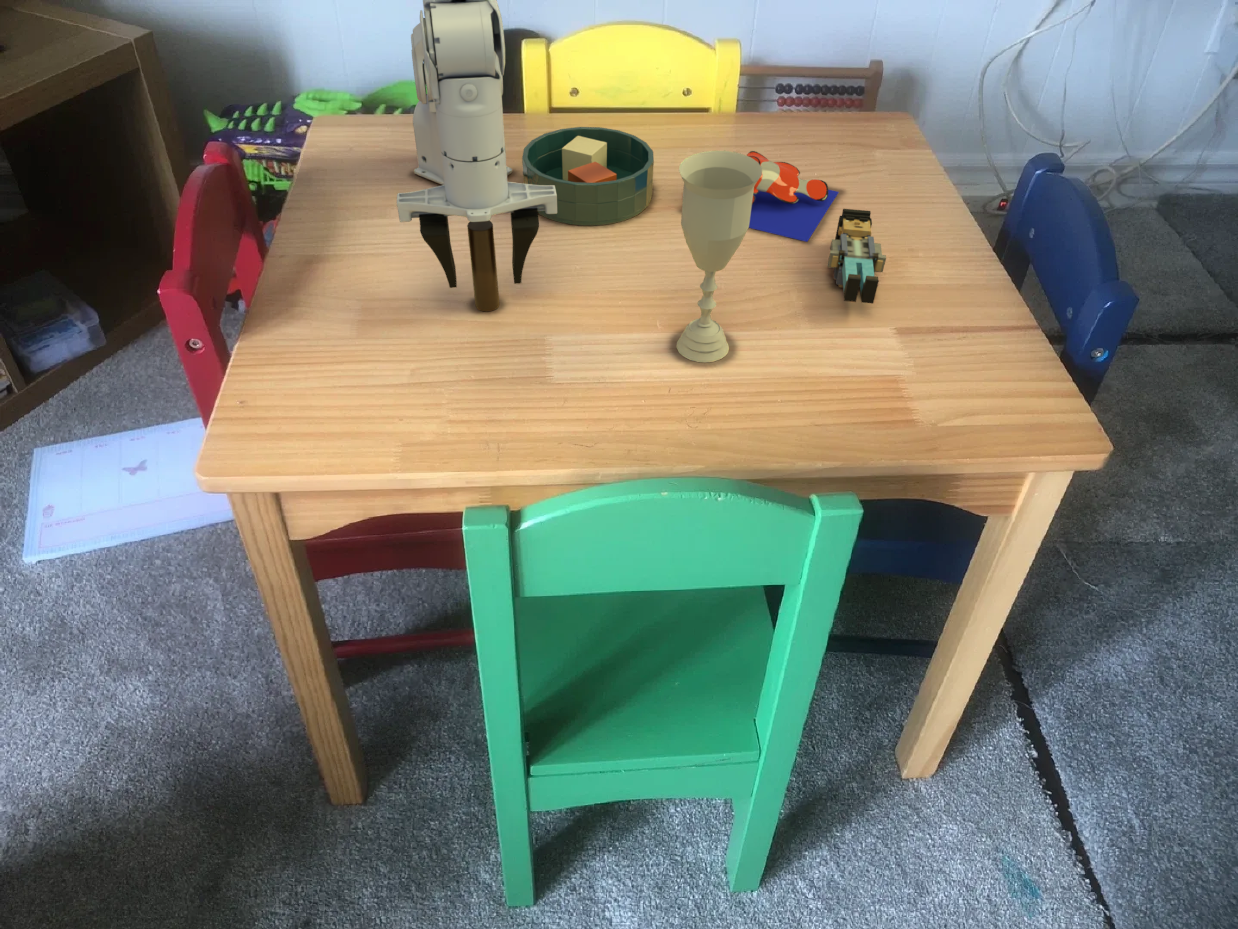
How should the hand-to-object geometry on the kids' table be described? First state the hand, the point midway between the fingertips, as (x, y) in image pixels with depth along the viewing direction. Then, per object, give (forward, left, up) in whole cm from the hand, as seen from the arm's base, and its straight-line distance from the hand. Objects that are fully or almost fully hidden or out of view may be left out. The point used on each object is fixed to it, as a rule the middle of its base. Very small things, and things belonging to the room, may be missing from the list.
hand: (485, 280), depth 90 cm
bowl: (-6, +25, -3) cm, 26 cm away
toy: (+27, +28, -3) cm, 39 cm away
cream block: (-9, +28, -2) cm, 29 cm away
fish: (+11, +37, -3) cm, 38 cm away
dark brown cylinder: (0, 0, -3) cm, 3 cm away
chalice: (+21, +8, -3) cm, 22 cm away
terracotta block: (-4, +22, -2) cm, 23 cm away
